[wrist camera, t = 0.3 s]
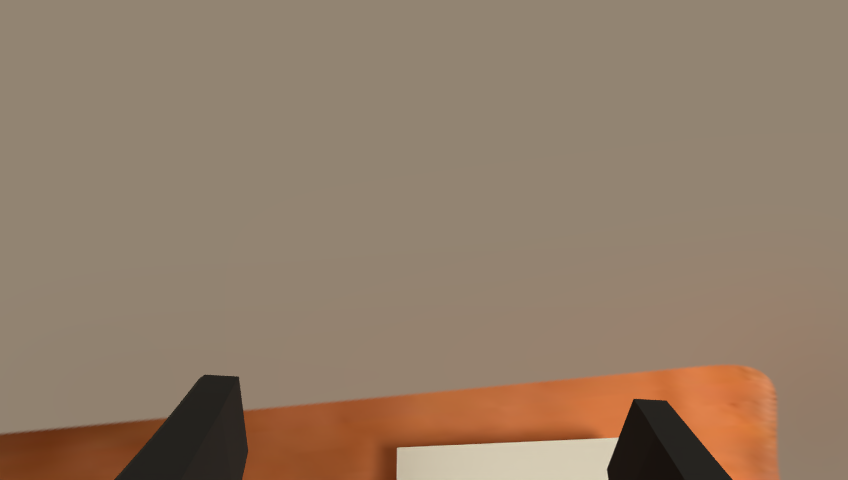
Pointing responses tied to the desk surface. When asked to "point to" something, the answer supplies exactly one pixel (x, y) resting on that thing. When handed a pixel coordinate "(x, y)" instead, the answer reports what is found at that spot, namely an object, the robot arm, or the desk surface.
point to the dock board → (508, 461)
